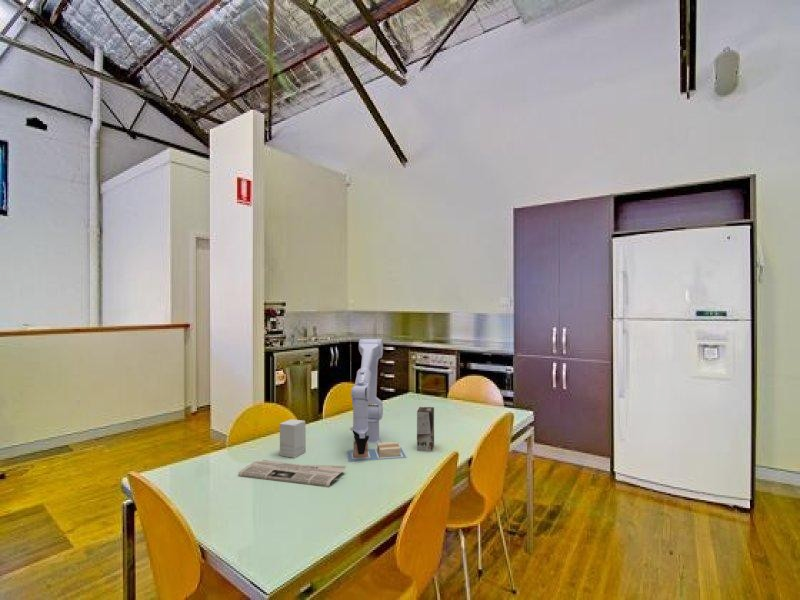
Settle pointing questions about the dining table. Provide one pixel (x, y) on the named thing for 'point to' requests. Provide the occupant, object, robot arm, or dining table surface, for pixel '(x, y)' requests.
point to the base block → (388, 449)
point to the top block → (357, 451)
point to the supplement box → (292, 438)
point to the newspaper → (292, 472)
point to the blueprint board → (371, 456)
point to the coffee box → (425, 429)
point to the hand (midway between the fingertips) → (360, 451)
